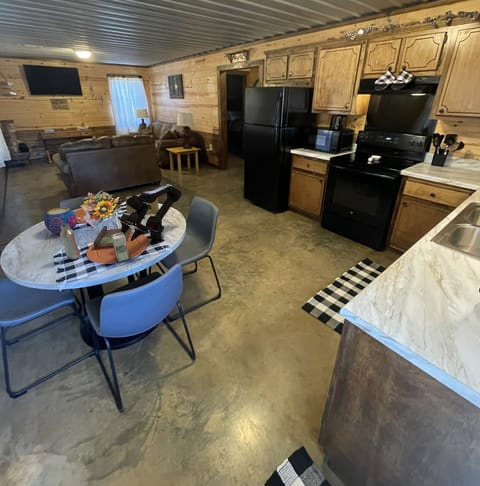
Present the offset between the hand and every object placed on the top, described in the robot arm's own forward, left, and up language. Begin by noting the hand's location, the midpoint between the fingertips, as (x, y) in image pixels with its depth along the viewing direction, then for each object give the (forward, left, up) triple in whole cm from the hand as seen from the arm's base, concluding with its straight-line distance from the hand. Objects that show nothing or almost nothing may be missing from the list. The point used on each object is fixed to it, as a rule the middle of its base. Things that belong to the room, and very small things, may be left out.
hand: (125, 238), depth 142 cm
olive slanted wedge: (+16, -19, -11) cm, 27 cm away
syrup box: (+2, +3, -11) cm, 11 cm away
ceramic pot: (+53, -29, -11) cm, 62 cm away
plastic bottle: (+29, +2, -11) cm, 31 cm away
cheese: (+11, -57, -11) cm, 59 cm away
